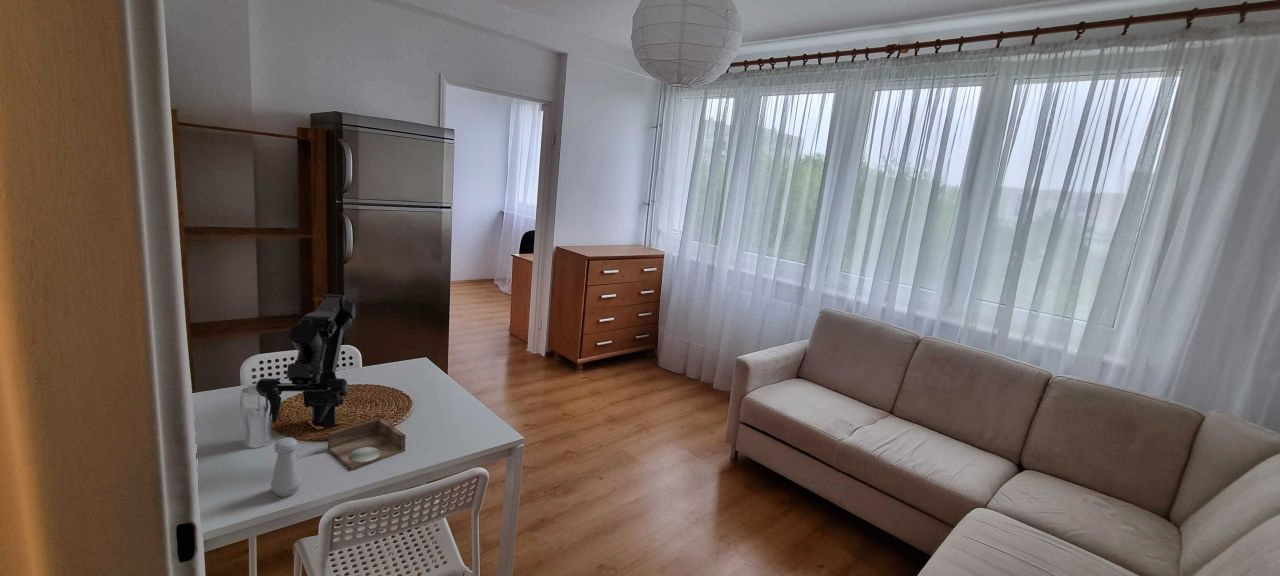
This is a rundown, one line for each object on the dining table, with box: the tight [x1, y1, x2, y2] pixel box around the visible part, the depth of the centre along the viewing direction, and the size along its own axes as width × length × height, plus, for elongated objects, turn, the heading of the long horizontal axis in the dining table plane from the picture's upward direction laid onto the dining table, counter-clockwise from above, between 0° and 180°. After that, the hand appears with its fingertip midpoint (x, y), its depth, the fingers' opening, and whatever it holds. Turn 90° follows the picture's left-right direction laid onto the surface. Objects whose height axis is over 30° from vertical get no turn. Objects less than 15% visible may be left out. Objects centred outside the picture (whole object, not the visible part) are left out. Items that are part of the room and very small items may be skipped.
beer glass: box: [239, 383, 273, 449], centre depth 136 cm, size 7×7×15 cm
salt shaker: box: [270, 437, 303, 498], centre depth 119 cm, size 6×6×13 cm
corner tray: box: [327, 417, 406, 471], centre depth 140 cm, size 13×14×5 cm
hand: (297, 422), depth 125 cm, fingers open, 9 cm apart
